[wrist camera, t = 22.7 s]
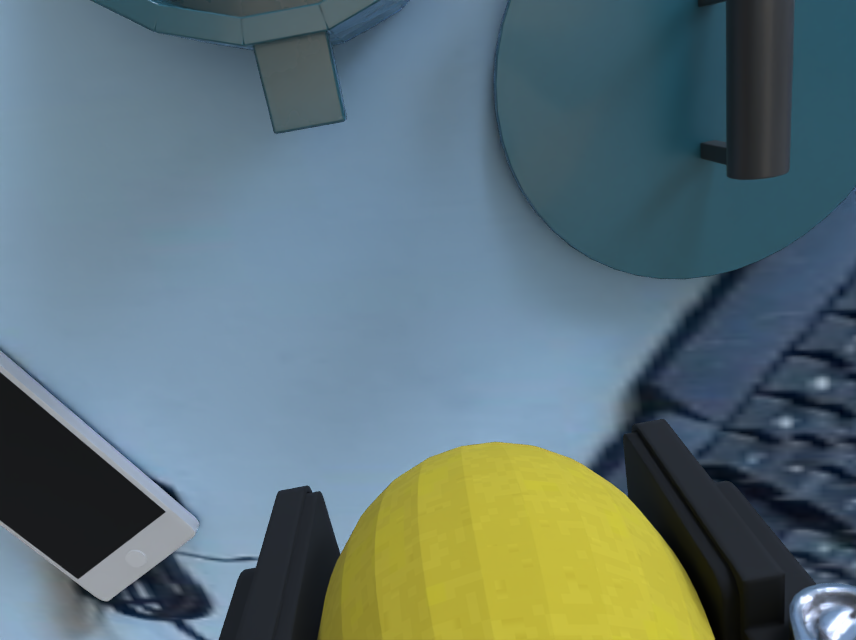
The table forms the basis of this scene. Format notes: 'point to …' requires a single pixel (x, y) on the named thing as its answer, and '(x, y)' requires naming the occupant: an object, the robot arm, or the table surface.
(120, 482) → the smartphone
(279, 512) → the robot arm
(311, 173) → the table surface
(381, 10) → the pot
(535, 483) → the lemon
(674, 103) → the lid
